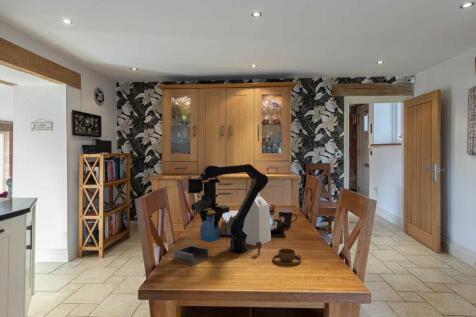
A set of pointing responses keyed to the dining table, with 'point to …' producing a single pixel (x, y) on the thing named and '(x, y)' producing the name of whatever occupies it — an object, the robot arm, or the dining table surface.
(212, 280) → the dining table surface
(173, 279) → the dining table surface
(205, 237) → the perfume bottle
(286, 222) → the coffee mug
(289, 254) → the place setting
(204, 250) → the grey square tray
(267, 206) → the milk
